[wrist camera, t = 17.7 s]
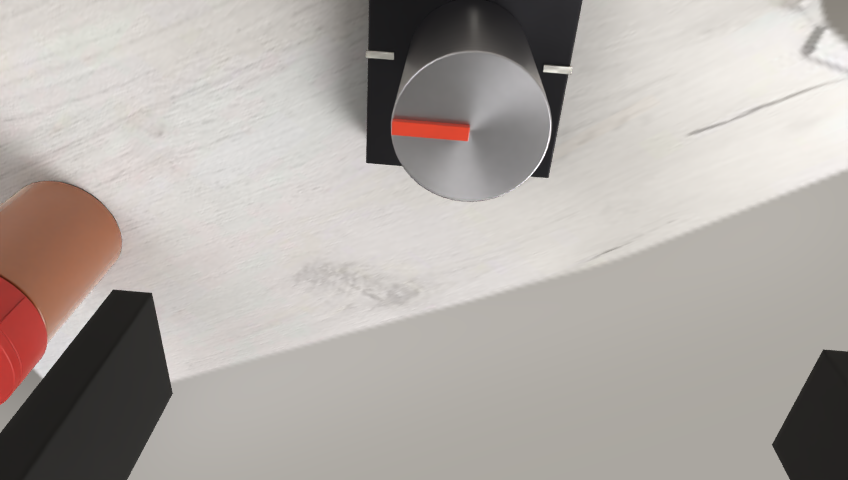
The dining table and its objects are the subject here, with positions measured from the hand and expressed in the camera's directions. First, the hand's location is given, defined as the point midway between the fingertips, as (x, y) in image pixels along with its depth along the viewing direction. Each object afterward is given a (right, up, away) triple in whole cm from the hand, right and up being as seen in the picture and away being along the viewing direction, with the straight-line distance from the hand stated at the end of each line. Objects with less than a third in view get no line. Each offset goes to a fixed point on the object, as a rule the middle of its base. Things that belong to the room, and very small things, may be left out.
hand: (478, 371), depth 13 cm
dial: (+1, +11, +18) cm, 22 cm away
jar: (-25, +3, +29) cm, 38 cm away
